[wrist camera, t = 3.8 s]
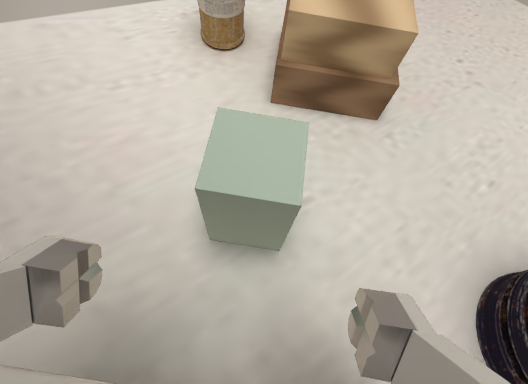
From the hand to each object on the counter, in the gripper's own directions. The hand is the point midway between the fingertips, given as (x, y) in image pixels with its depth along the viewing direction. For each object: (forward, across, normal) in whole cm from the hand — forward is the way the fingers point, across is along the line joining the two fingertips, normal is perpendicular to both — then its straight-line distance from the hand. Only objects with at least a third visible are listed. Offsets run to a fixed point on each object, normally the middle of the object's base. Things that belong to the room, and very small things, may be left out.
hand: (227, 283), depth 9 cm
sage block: (+12, 0, +3) cm, 13 cm away
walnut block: (+24, -5, -8) cm, 26 cm away
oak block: (+21, -5, -12) cm, 24 cm away
